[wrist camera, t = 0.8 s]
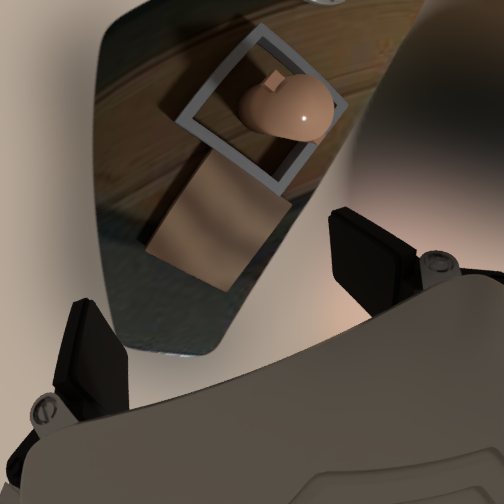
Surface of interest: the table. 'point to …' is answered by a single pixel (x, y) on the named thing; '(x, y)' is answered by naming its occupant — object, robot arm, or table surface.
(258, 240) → the board
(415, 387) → the robot arm
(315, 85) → the tan tapered capsule
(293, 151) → the holder frame
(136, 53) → the table surface
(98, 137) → the table surface
